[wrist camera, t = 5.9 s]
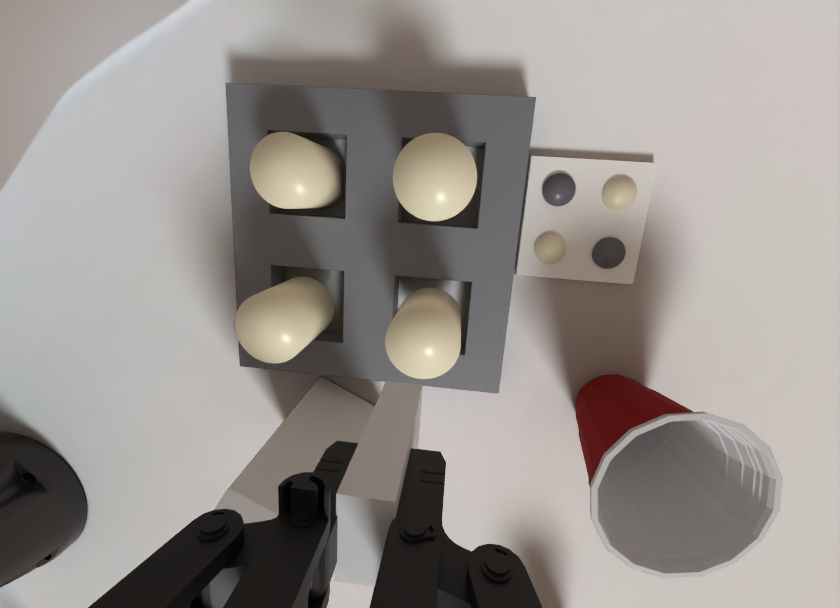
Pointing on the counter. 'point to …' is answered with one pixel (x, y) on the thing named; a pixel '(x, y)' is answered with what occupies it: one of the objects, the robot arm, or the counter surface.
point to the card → (584, 218)
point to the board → (382, 220)
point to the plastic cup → (673, 480)
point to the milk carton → (296, 448)
